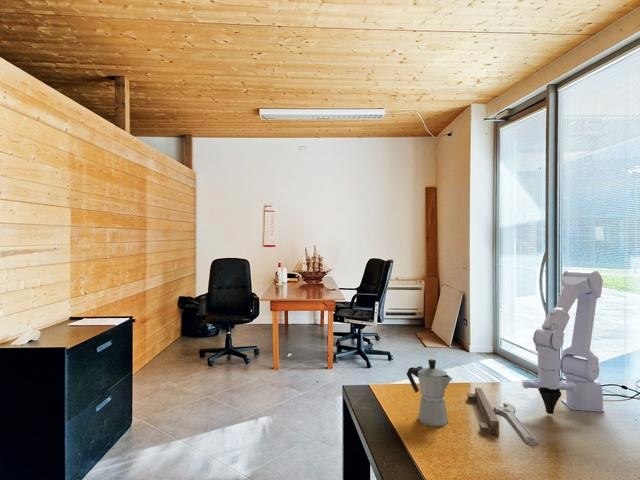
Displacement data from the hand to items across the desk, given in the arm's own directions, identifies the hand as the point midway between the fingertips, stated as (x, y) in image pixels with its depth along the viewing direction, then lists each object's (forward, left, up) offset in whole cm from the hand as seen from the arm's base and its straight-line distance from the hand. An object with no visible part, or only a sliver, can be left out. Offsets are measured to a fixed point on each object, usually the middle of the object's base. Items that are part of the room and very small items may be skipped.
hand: (549, 412), depth 119 cm
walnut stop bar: (+20, +4, -1) cm, 21 cm away
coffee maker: (+36, +10, -1) cm, 37 cm away
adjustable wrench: (+12, +8, -2) cm, 15 cm away
